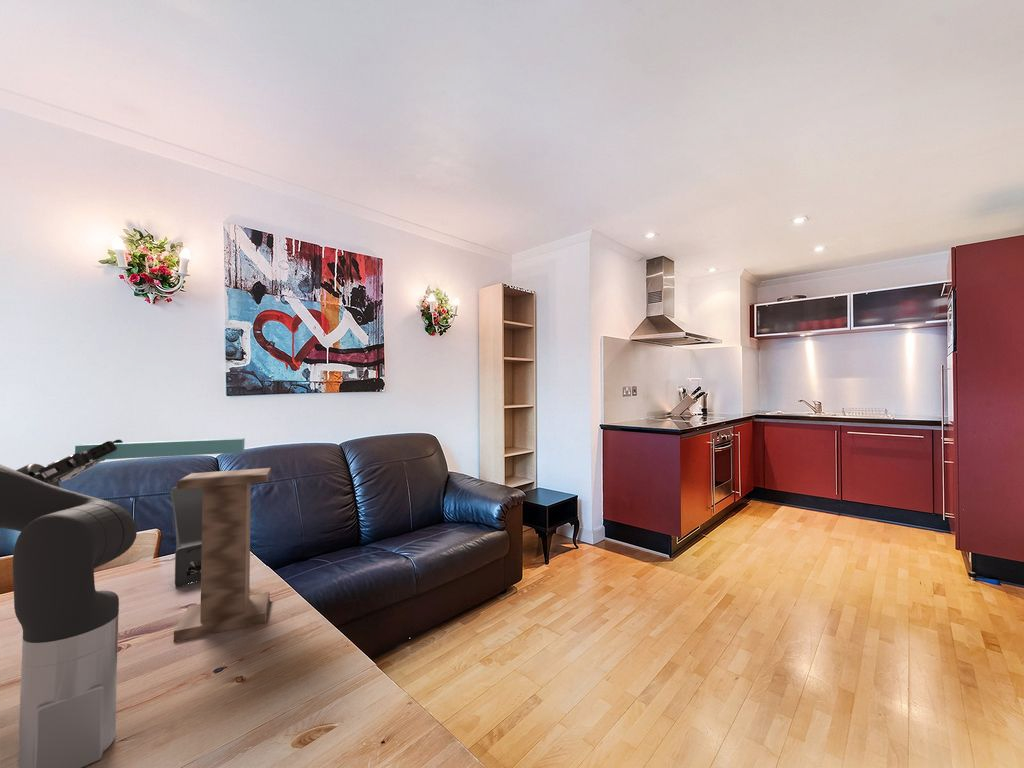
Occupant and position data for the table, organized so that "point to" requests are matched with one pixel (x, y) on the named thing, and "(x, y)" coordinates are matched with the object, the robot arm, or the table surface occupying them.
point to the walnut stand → (224, 555)
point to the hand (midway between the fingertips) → (118, 444)
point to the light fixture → (187, 534)
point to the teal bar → (169, 448)
